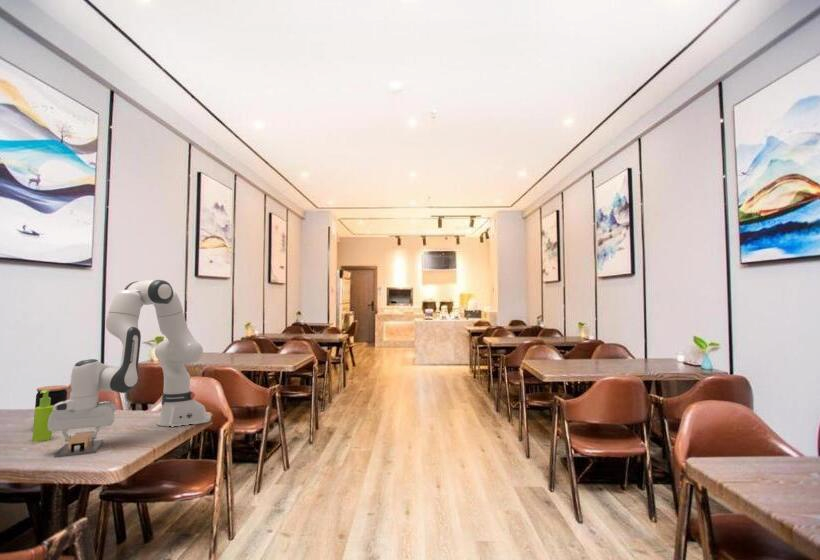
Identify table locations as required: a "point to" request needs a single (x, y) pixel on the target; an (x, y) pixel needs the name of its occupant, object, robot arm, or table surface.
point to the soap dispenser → (42, 418)
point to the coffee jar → (52, 394)
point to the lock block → (80, 440)
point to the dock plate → (83, 451)
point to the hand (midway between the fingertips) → (81, 439)
